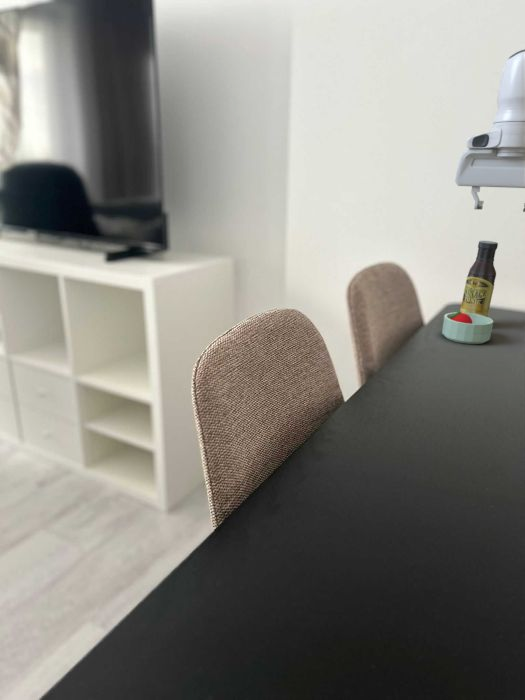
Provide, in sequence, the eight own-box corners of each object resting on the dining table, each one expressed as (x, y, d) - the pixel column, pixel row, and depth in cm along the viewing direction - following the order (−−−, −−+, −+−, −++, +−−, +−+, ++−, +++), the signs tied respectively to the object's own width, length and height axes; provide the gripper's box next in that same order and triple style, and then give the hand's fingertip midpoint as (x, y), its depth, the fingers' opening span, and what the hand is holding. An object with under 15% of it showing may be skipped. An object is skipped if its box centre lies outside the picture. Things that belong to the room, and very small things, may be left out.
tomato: (471, 328, 115) (460, 309, 115) (480, 327, 110) (468, 307, 110) (453, 338, 115) (442, 320, 115) (460, 338, 111) (448, 319, 111)
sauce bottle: (453, 324, 123) (466, 240, 117) (465, 320, 127) (478, 238, 121) (480, 330, 119) (495, 244, 112) (491, 325, 123) (506, 241, 116)
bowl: (477, 331, 118) (480, 312, 117) (498, 345, 109) (501, 324, 107) (435, 331, 118) (437, 312, 116) (452, 344, 108) (455, 324, 107)
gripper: (573, 140, 101) (558, 212, 105) (464, 140, 110) (455, 207, 115) (573, 137, 95) (558, 214, 100) (459, 138, 105) (449, 208, 109)
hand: (502, 210), depth 107 cm, fingers open, 8 cm apart
